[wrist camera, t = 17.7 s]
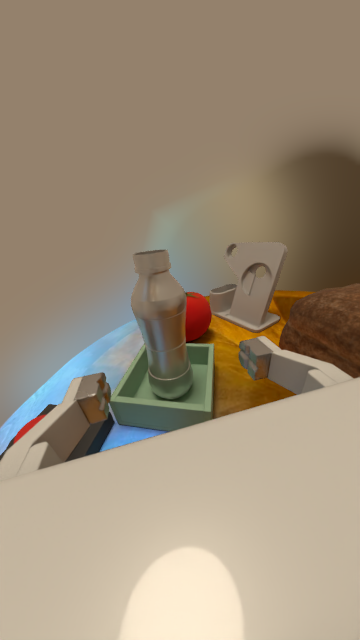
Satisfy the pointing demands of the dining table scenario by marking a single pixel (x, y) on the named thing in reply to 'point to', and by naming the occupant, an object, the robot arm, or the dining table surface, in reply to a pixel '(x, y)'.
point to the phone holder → (250, 285)
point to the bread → (327, 328)
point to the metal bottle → (162, 324)
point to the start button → (27, 427)
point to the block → (88, 442)
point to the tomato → (196, 316)
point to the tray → (159, 413)
